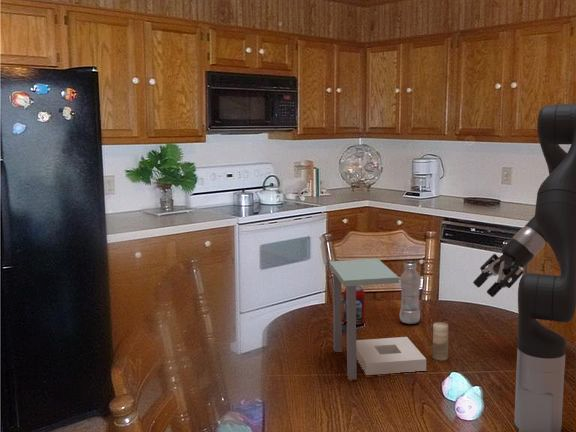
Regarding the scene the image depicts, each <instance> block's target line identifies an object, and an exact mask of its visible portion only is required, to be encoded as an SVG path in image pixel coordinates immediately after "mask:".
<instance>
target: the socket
mask: <svg viewBox="0 0 576 432" xmlns="http://www.w3.org/2000/svg"><path fill="white" fill-rule="evenodd" d="M356 358H357V359H356V361H357V360H358V361H357V363H358V362H359V363H360V365H361V366H360V365H359V366H360V368H361V367H362V368H361V370H362V369H363V370H364V372H365V373H364V372H363V373H364V375H365V374H366V375H371V374H372V375H373V374H388V373H400V372H415V371H426V372H427V358H426V357H425V356H424V355H423V354H422V353H421V351H420V350H419V349H418V348H417V347H416V346H415V344H414V343H413V342H412V341H411V340H410V339H409V337H408V336H400V337H399V336H398V337H386V338H385V337H384V338H371V339H369V338H368V339H356ZM359 363H358V364H359ZM363 370H362V371H363ZM366 375H365V376H366Z"/></svg>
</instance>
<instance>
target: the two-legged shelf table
mask: <svg viewBox="0 0 576 432" xmlns="http://www.w3.org/2000/svg"><path fill="white" fill-rule="evenodd" d="M328 267H329V268H330V270H331V271H332V303H333V304H332V312H333V313H332V315H333V316H332V318H333V319H332V321H333V325H332V327H333V352H334V351H335V352H342V353H343V320H342V319H343V318H342V317H343V313H342V312H343V311H342V309H343V308H342V307H343V306H342V305H343V304H342V286H343V287H345V289H346V309H347V323H346V370H347V371H346V377H347V376H348V378H347V380H348V379H358V378H357V370H358V369H357V363H358V361H357V359H356V340H357V326H356V286H373V285H375V286H377V285H389V284H390V285H392V284H400V276H398V274H396V273H395V272H394V271H393V270H392V269H390V267H388V266H387V265H386V264H384V262H383V261H381V260H380V259H379V258H367V259H349V260H330V261H328ZM335 352H334V353H335Z"/></svg>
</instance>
